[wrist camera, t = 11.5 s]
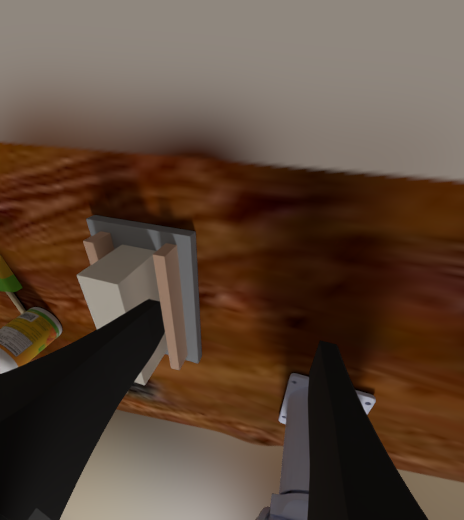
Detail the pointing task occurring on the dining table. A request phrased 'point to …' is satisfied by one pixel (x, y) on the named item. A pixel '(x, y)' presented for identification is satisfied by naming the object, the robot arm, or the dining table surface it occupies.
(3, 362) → the supplement bottle
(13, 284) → the popsicle
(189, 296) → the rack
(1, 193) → the dining table surface
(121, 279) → the beige rectangular block
